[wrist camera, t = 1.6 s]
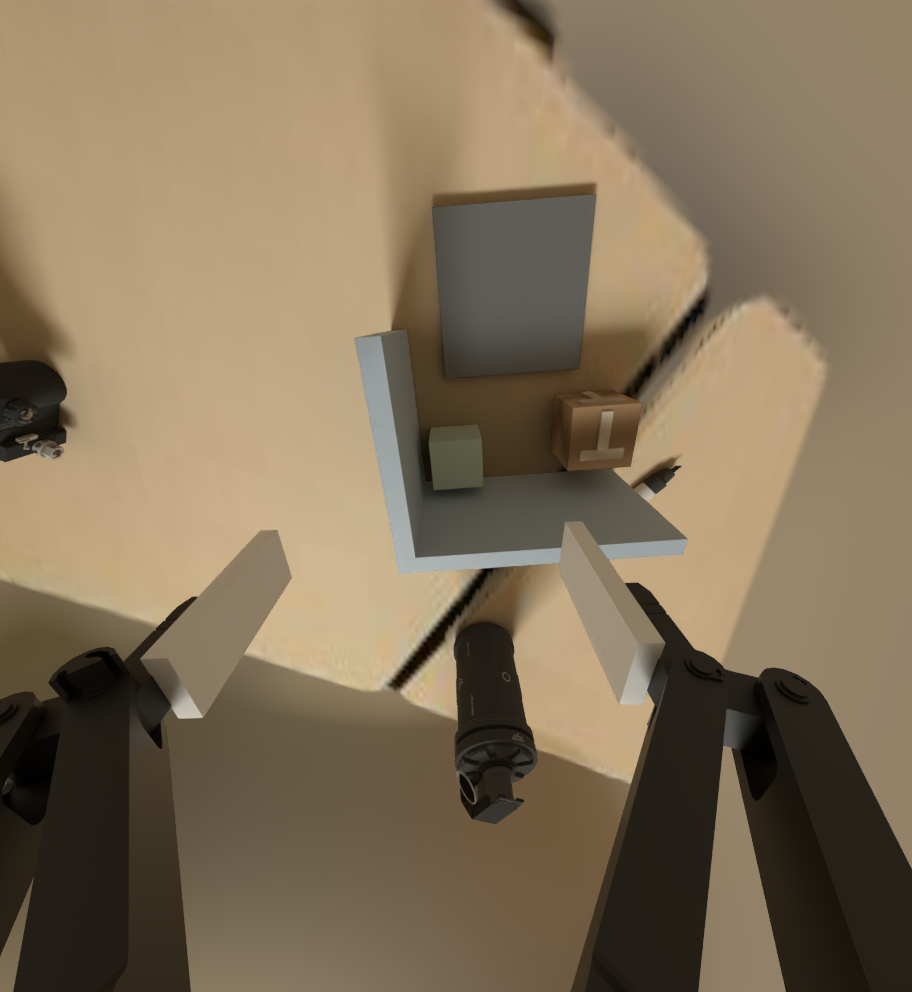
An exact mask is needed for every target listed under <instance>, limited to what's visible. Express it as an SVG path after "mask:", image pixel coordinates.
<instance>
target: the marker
mask: <svg viewBox="0 0 912 992" xmlns="http://www.w3.org/2000/svg"><path fill="white" fill-rule="evenodd" d="M680 467H682V466H675V467H673V468H672V469H671V470H670V469H669V468H666V469H664V470H663V471H661V472H659V473H658V474H656V475H655V474H653V475H652V476H650V477H649V478H648V479H647V480H645V481H644V482H642V483H641V484H640V485H638V486H637V487H636V488H634V490H635V491H636V492H637V493H638V494H639V495H640V496H641V497H642V498H643V499H645V500H646V501H648V500H649V499H651V498H652V497H653V496H655V494H657V493H658V492H659V491H661V490H662V489H663V488H664V487H666V486H667V485H666V483H667V482H668V481H669V480H670V479H671V478H672V477H674V476H675V474H674V472H675V471H676V470H678V469H679V468H680Z"/></svg>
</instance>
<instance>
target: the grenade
mask: <svg viewBox="0 0 912 992" xmlns="http://www.w3.org/2000/svg"><path fill="white" fill-rule="evenodd" d="M513 655H514V645H513V641H512V639H511V637H510V635H509V634H508V633H507V631H505V630H504V629H503V628H501V627H499V626H496V625H492V624H477V625H473V626H471V627H469V628H466V629H465V630H463V631H462V632H461V633H460V634H459V635H458V636H457V638H456V641H455V644H454V657H455V660H456V668H457V679H456V693H457V706H458V731H457V732H456V735H455V767H456V769H457V771H458V772H459V773H460V782H459V777H458V772H457V780H458V783H459V786H460V794H461V801H462V803H463V805H464V807H465V808H466V810H467V812H468V813H469V815H470V817H471V818H472V819H474V820H479V821H483V822H488V823H493V824H496V823H498V822H499V821H501V820H502V819H503V818H505V817H506V816H507V815H509V814H510V813H512V812H513V811H514V810H516V809H517V807H519V806H520V805H522V804H523V802H524V800H523V799H519V798H517V799H516V800H515V799H514V798H513V791H512V784H511V783H513V782H516V781H518V780H520V779H522V778H523V777H524V776H525V775H526V774H529V772H531V771H532V770H533V769H534V767H535V766H536V764H537V761H538V759H537V753H536V748H535V744H534V738H533V733H532V730H531V728H530V727H529V726H528V725H527V723H526V718H525V713H524V708H523V703H522V694H521V689H520V684H519V679H518V675H517V672H516V667H515V662H514V657H513ZM479 782H480V783H479Z"/></svg>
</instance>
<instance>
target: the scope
mask: <svg viewBox="0 0 912 992" xmlns="http://www.w3.org/2000/svg"><path fill="white" fill-rule="evenodd" d="M66 395H67V389H66V386H65V383H64V382H63V380H62V378H61V377H60V376H59V375H58V374H57V372H55V371H54V370H53V369H52V368H51V367H49V366H47V365H46V364H44V363H41V362H38V361H32V360H25V361H15V362H5V363H0V460H1V461H3V462H7V461H11V460H14V459H17V458H20V457H23V456H26V455H29V454H32V453H34V454H35V455H38V456H39V457H42V458H49V459H52V460H54V459H57V458H60V457H61V455H62V454H63V453H64V449H63V448H62V447H61V446H58V445H60V444H63V443H66V431H65V430H64V429H59V430H57V429H56V428H57V425H58V421H59V417H58V416H59V405H60V403H61V402H62V401H63V400H64V399H65V397H66ZM52 455H53V456H56V457H53V456H52Z"/></svg>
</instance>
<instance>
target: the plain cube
mask: <svg viewBox="0 0 912 992" xmlns="http://www.w3.org/2000/svg"><path fill="white" fill-rule="evenodd" d="M429 451H430V460H431V469H432V478H433V487H434V490H444V489H458V488H472V487H483V459H482V438H481V434H480V431H479V427H478V424H474V425H461V426H447V427H433V428H431V430H430V437H429Z"/></svg>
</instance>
